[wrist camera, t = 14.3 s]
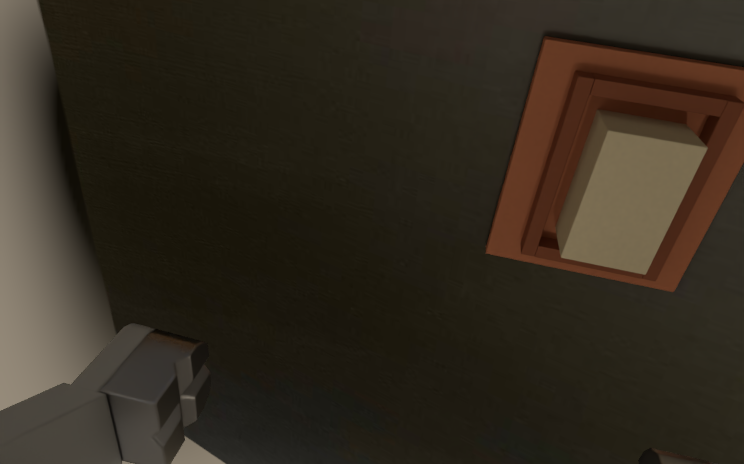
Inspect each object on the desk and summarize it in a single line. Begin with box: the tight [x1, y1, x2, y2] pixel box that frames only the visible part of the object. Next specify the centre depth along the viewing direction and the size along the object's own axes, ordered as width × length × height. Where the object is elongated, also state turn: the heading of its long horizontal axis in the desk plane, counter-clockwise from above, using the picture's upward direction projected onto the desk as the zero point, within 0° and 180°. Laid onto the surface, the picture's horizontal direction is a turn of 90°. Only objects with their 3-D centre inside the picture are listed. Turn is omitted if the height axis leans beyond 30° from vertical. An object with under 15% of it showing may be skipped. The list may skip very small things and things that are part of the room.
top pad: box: [555, 109, 708, 275], centre depth 34 cm, size 9×6×4 cm, turn 173°
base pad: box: [486, 36, 744, 292], centre depth 35 cm, size 16×14×2 cm
